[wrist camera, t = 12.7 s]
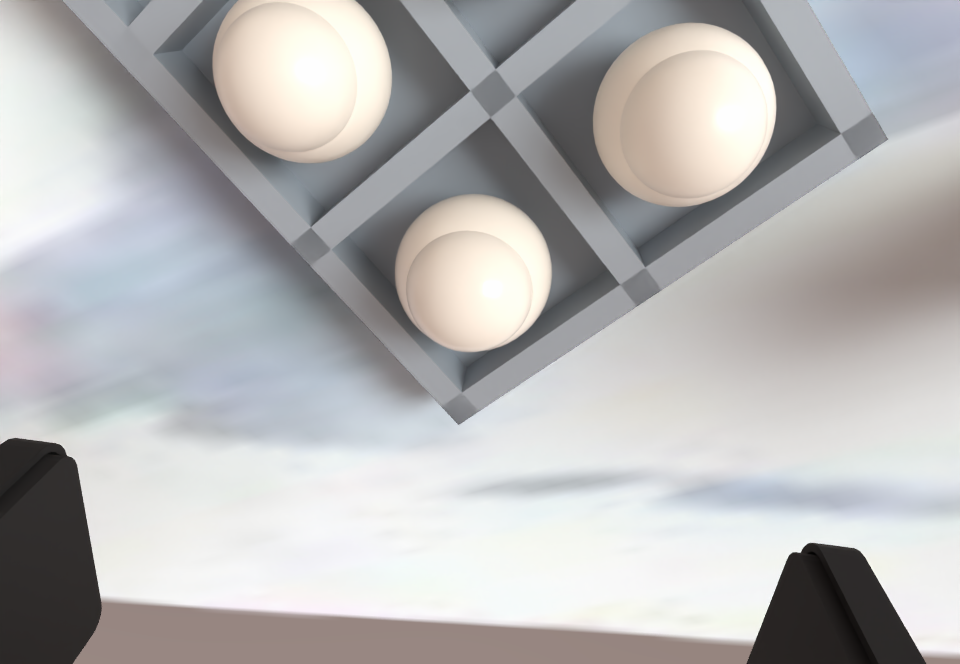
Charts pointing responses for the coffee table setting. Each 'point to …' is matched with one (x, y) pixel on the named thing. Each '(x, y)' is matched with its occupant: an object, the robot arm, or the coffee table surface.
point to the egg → (473, 272)
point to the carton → (502, 138)
